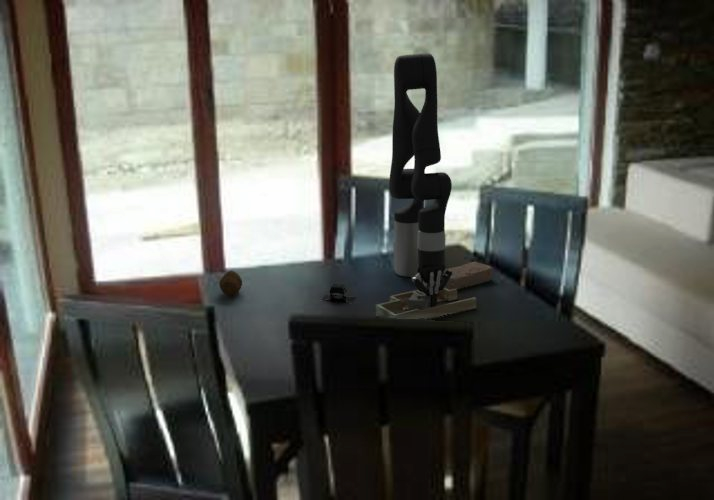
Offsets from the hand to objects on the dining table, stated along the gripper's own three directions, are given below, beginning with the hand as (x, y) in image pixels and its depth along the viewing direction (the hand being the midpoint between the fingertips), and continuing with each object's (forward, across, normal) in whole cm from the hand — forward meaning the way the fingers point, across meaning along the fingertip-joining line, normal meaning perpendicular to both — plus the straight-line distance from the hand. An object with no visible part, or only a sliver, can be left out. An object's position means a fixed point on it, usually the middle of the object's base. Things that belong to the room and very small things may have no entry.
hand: (431, 306), depth 227 cm
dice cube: (+2, +4, 0) cm, 5 cm away
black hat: (+2, +16, -23) cm, 29 cm away
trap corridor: (+2, +2, -3) cm, 3 cm away
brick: (+2, -23, -15) cm, 27 cm away
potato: (+2, +41, -45) cm, 61 cm away
